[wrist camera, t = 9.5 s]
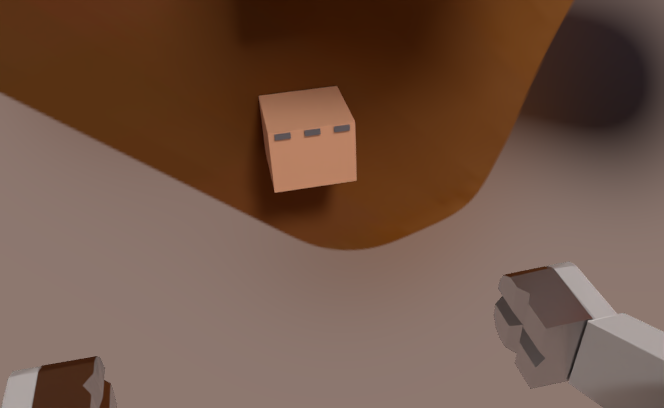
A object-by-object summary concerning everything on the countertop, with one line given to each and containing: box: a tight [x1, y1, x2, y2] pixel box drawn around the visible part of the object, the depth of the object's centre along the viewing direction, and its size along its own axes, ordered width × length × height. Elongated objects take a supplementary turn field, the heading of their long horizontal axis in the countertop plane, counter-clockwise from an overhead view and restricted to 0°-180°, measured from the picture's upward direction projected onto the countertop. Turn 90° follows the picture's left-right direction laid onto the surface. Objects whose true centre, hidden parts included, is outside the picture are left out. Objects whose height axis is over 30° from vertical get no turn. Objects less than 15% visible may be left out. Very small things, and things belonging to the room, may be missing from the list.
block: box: [259, 86, 357, 193], centre depth 38 cm, size 5×4×5 cm
